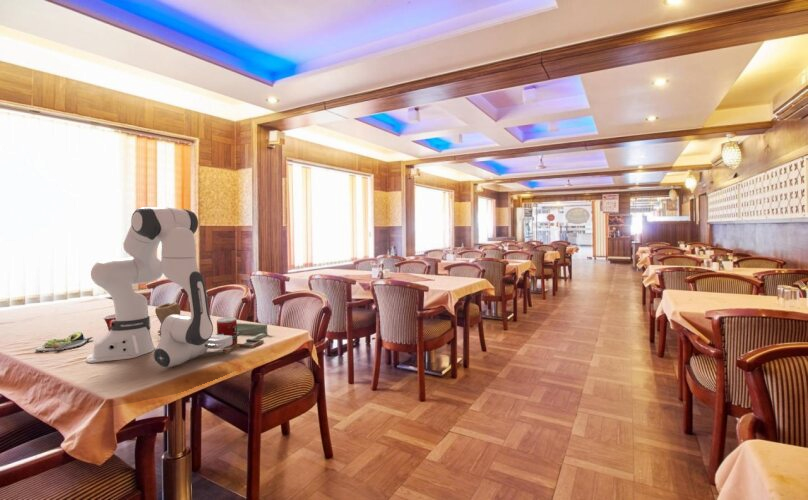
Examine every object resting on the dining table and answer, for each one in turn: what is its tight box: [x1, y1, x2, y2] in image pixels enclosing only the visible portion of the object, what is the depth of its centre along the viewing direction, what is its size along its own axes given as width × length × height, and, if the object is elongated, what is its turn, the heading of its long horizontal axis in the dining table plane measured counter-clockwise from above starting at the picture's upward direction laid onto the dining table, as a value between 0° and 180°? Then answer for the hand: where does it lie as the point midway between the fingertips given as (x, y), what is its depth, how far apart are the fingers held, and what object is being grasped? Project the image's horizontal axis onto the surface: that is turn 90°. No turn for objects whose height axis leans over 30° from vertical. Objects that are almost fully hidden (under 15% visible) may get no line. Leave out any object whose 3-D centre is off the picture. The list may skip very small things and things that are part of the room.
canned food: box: [216, 316, 238, 348], centre depth 170 cm, size 8×8×11 cm
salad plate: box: [35, 331, 94, 352], centre depth 174 cm, size 19×18×5 cm
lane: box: [221, 322, 268, 354], centre depth 174 cm, size 28×28×5 cm
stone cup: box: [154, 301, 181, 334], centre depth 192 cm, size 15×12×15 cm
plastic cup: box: [102, 313, 116, 332], centre depth 183 cm, size 11×11×12 cm
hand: (220, 335), depth 167 cm, fingers closed, pressing on canned food
